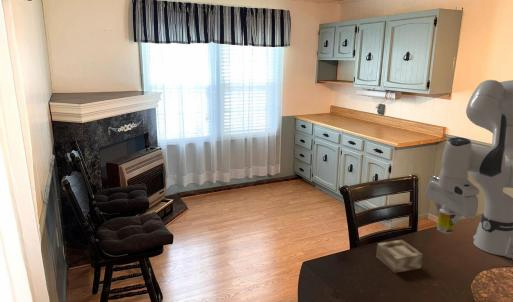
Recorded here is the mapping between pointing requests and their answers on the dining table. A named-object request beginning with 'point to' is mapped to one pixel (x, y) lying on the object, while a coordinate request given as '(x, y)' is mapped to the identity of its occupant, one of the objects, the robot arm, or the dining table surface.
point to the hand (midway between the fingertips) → (446, 218)
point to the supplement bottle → (445, 220)
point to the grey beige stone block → (399, 256)
